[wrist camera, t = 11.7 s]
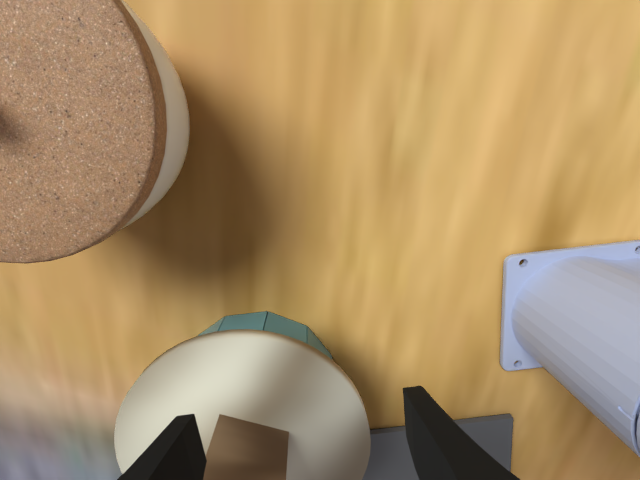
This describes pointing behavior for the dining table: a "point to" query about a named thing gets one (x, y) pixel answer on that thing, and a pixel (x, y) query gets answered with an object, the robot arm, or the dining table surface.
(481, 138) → the dining table surface
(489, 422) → the mat
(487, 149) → the dining table surface
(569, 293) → the robot arm
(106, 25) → the lidded jar
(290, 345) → the lid
